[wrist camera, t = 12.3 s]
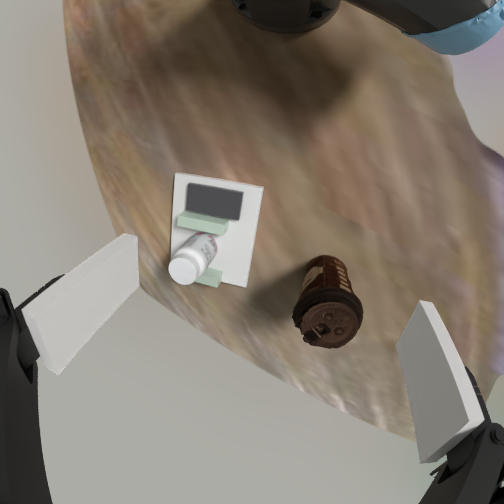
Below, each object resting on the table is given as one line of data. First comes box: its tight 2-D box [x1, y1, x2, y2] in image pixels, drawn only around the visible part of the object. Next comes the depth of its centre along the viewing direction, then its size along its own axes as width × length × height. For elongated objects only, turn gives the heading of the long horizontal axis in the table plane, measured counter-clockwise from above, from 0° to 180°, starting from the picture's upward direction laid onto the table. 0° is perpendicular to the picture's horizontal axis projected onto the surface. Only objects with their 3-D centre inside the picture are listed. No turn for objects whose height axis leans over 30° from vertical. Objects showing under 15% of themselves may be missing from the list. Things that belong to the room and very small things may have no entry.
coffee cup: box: [292, 255, 363, 349], centre depth 37 cm, size 9×8×13 cm
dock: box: [171, 172, 264, 287], centre depth 42 cm, size 16×13×4 cm
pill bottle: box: [169, 232, 218, 285], centre depth 40 cm, size 5×5×8 cm
